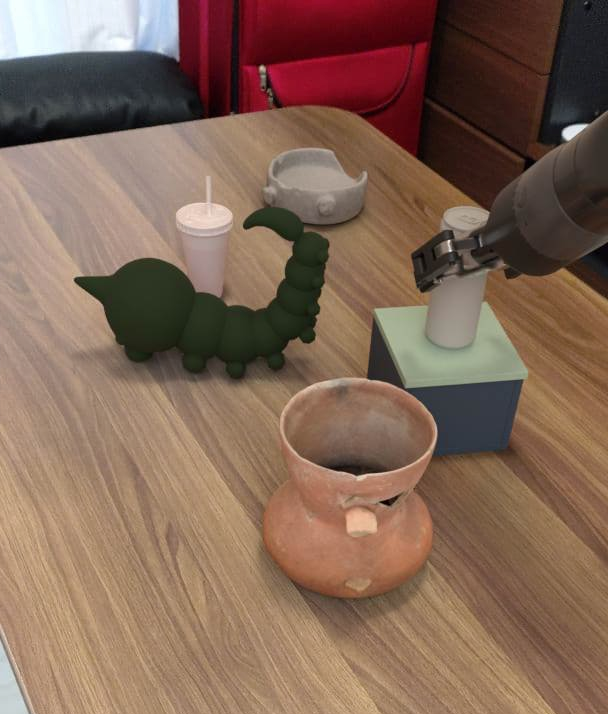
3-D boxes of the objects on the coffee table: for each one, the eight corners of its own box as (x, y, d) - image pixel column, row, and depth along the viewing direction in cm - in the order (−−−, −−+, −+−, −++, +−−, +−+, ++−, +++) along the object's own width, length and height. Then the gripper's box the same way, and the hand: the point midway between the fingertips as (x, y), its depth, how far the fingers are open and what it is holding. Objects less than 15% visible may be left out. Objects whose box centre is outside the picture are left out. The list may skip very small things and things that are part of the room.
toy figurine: (310, 356, 109) (85, 324, 107) (336, 194, 95) (80, 156, 94) (306, 406, 102) (66, 374, 100) (334, 240, 89) (58, 199, 87)
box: (507, 449, 96) (525, 375, 89) (392, 460, 94) (403, 384, 88) (471, 381, 104) (485, 308, 97) (365, 389, 102) (373, 316, 96)
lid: (527, 379, 89) (529, 371, 88) (405, 388, 87) (405, 381, 87) (485, 308, 97) (486, 301, 97) (373, 315, 96) (373, 308, 95)
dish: (303, 173, 139) (305, 138, 135) (385, 202, 133) (389, 166, 130) (240, 208, 130) (240, 171, 127) (325, 240, 125) (327, 203, 121)
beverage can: (461, 358, 89) (483, 237, 81) (414, 341, 91) (432, 220, 83) (483, 334, 92) (506, 215, 84) (437, 318, 94) (456, 200, 86)
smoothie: (231, 308, 112) (230, 191, 102) (176, 306, 112) (169, 188, 102) (235, 280, 117) (234, 165, 107) (181, 277, 116) (176, 162, 107)
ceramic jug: (439, 629, 79) (467, 498, 69) (260, 626, 78) (262, 494, 68) (417, 482, 91) (438, 354, 82) (262, 479, 91) (265, 350, 81)
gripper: (487, 272, 69) (400, 328, 84) (655, 246, 73) (543, 304, 88) (464, 167, 68) (382, 243, 84) (634, 147, 72) (525, 223, 88)
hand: (464, 274), depth 86 cm, fingers open, 8 cm apart
